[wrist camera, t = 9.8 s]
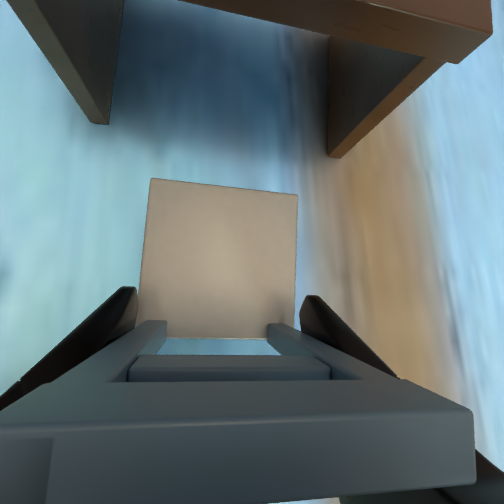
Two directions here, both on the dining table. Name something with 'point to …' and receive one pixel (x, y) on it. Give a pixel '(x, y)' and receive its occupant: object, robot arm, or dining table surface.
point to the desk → (291, 14)
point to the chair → (226, 385)
